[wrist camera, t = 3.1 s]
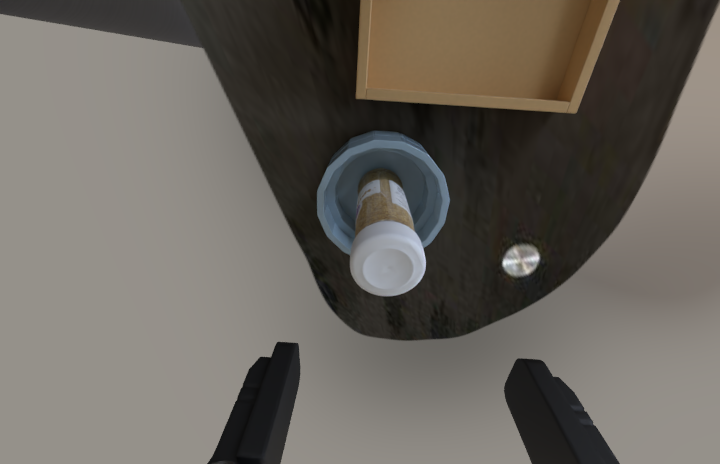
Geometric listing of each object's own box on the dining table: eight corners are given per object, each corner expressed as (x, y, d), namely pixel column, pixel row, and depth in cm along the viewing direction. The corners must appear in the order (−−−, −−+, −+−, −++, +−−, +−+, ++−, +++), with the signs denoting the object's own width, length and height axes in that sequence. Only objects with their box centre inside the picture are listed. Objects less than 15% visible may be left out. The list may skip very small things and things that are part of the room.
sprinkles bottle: (354, 169, 28) (343, 239, 16) (402, 164, 27) (427, 231, 16) (360, 213, 30) (354, 302, 18) (404, 208, 30) (428, 296, 18)
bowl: (324, 233, 32) (317, 258, 27) (324, 126, 26) (316, 135, 22) (426, 239, 32) (435, 265, 27) (446, 134, 26) (462, 145, 22)
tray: (356, 96, 25) (355, 98, 23) (368, -134, 19) (367, -163, 16) (557, 110, 25) (576, 113, 23) (637, -115, 19) (675, -142, 16)
